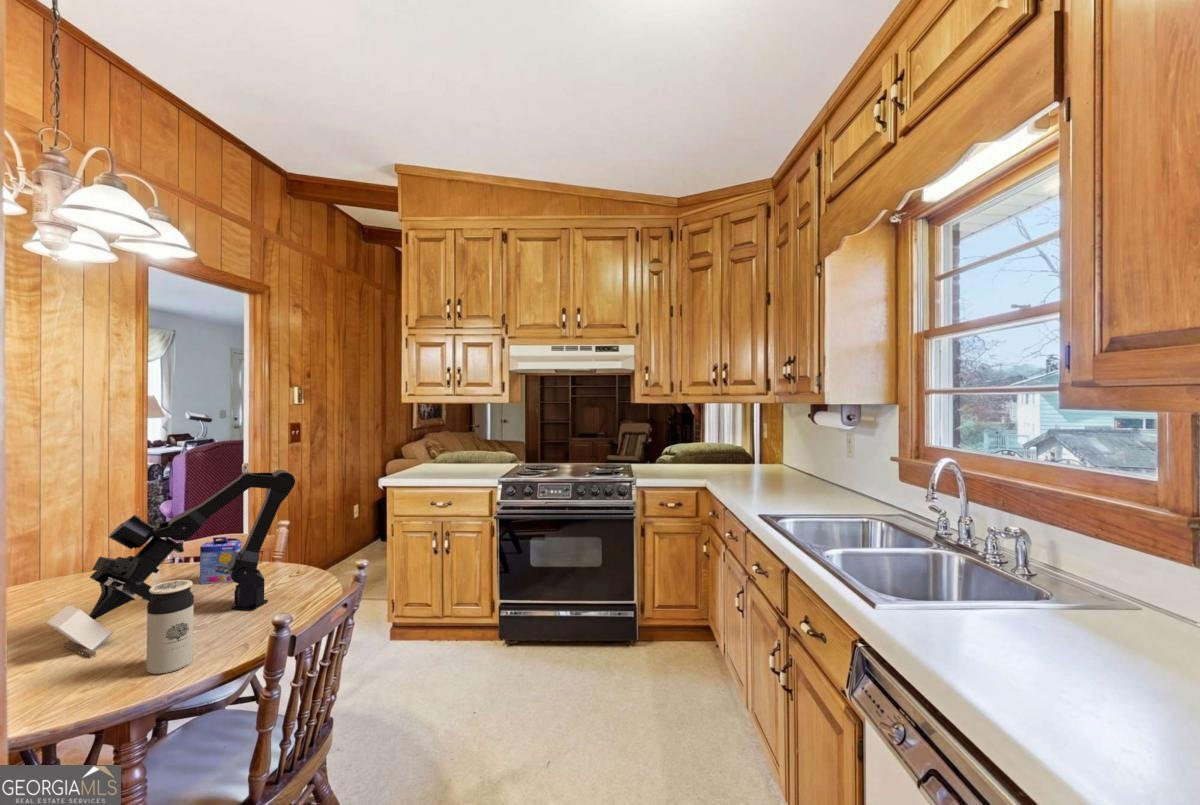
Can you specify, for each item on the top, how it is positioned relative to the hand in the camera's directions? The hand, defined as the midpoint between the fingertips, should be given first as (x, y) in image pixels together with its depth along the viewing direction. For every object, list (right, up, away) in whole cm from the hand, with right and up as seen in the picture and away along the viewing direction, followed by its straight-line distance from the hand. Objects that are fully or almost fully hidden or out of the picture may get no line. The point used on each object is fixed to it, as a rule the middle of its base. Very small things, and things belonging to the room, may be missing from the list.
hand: (91, 618), depth 122 cm
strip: (-1, -7, -2) cm, 7 cm away
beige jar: (+24, -8, -7) cm, 27 cm away
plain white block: (0, -5, +1) cm, 6 cm away
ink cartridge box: (-2, -6, +44) cm, 44 cm away
